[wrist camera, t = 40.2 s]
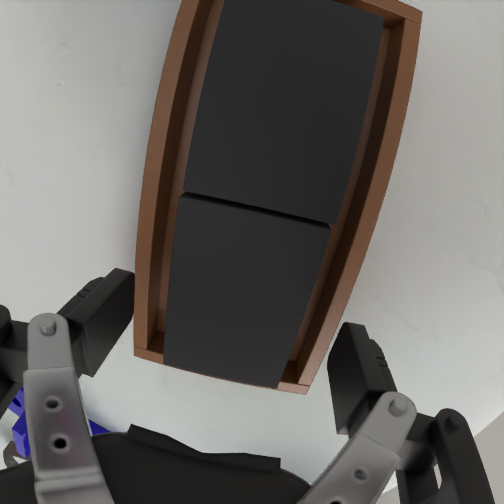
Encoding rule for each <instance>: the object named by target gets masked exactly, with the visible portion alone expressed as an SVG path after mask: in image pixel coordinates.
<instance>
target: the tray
mask: <svg viewBox="0 0 504 504" xmlns="http://www.w3.org/2000/svg"><path fill="white" fill-rule="evenodd" d="M224 1H225V0H182V2H181V5H180V8H179V11H178V15H177V18H176V22H175V25H174V28H173V32H172V36H171V39H170V43H169V47H168V51H167V55H166V58H165V63H164V67H163V71H162V75H161V80H160V84H159V89H158V93H157V98H156V103H155V108H154V113H153V119H152V124H151V130H150V136H149V142H148V148H147V154H146V161H145V168H144V175H143V183H142V191H141V200H140V210H139V220H138V231H137V244H136V260H135V300H134V356H136V357H140V358H143V359H146V360H149V361H153V362H156V363H159V364H163V354H164V336H165V321H166V307H167V295H168V284H169V273H170V264H171V254H172V246H173V237H174V229H175V221H176V214H177V207H178V200H179V196H180V195H182V194H183V193H185V192H186V191H184V190H183V184H184V178H185V172H186V166H187V161H188V155H189V150H190V144H191V139H192V134H193V128H194V123H195V118H196V114H197V109H198V104H199V99H200V95H201V90H202V86H203V81H204V77H205V73H206V69H207V64H208V60H209V56H210V52H211V48H212V44H213V41H214V37H215V33H216V29H217V26H218V22H219V18H220V15H221V11H222V8H223V4H224ZM332 1H335V2H339V3H342V4H346V5H349V6H352V7H355V8H358V9H361V10H364V11H367V12H370V13H373V14H376V15H378V16H381V17H383V18H384V22H383V28H382V34H381V40H380V45H379V51H378V56H377V62H376V67H375V72H374V77H373V82H372V87H371V91H370V96H369V101H368V105H367V110H366V114H365V118H364V123H363V127H362V131H361V135H360V139H359V143H358V147H357V151H356V155H355V159H354V163H353V167H352V171H351V174H350V178H349V182H348V185H347V189H346V193H345V196H344V200H343V203H342V207H341V210H340V213H339V217H338V220H337V223H336V225H332V224H329V226H330V228H331V229H332V232H331V235H330V238H329V242H328V245H327V248H326V252H325V255H324V258H323V261H322V264H321V267H320V271H319V274H318V277H317V280H316V283H315V286H314V289H313V292H312V295H311V298H310V301H309V304H308V307H307V310H306V312H305V315H304V318H303V321H302V324H301V327H300V329H299V332H298V335H297V338H296V341H295V343H294V346H293V349H292V351H291V354H290V357H289V359H288V362H287V365H286V367H285V370H284V372H283V375H282V378H281V380H280V383H279V385H278V388H277V389H273V390H278V391H285V392H291V393H298V394H307V392H308V390H309V387H310V385H311V383H312V381H313V379H314V377H315V375H316V373H317V371H318V369H319V367H320V364H321V362H322V360H323V358H324V356H325V354H326V351H327V349H328V347H329V345H330V342H331V340H332V338H333V336H334V333H335V331H336V329H337V326H338V324H339V322H340V319H341V317H342V314H343V312H344V309H345V307H346V305H347V302H348V300H349V297H350V294H351V292H352V289H353V287H354V284H355V282H356V279H357V276H358V274H359V271H360V268H361V265H362V263H363V260H364V257H365V254H366V251H367V249H368V246H369V243H370V240H371V237H372V234H373V231H374V228H375V225H376V222H377V219H378V216H379V212H380V209H381V206H382V203H383V199H384V196H385V193H386V189H387V186H388V182H389V179H390V175H391V172H392V168H393V164H394V161H395V157H396V153H397V149H398V145H399V141H400V137H401V133H402V128H403V124H404V120H405V115H406V110H407V106H408V101H409V96H410V91H411V86H412V80H413V75H414V69H415V63H416V56H417V50H418V43H419V35H420V27H421V20H422V11H420V10H418V9H416V8H414V7H412V6H409V5H407V4H405V3H403V2H400V1H398V0H332ZM163 365H165V364H163ZM166 366H168V365H166ZM170 367H172V366H170ZM174 368H176V367H174ZM177 369H179V368H177ZM181 370H183V369H181ZM185 371H187V370H185ZM189 372H191V371H189ZM193 373H195V372H193ZM197 374H199V373H197ZM201 375H203V374H201ZM205 376H208V375H205ZM209 377H212V376H209ZM213 378H216V377H213ZM217 379H221V378H217ZM222 380H225V379H222ZM226 381H230V380H226ZM231 382H235V381H231ZM236 383H240V382H236ZM241 384H245V383H241ZM246 385H250V384H246ZM251 386H255V385H251ZM256 387H261V386H256ZM261 388H267V387H261ZM267 389H272V388H267Z"/></svg>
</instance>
